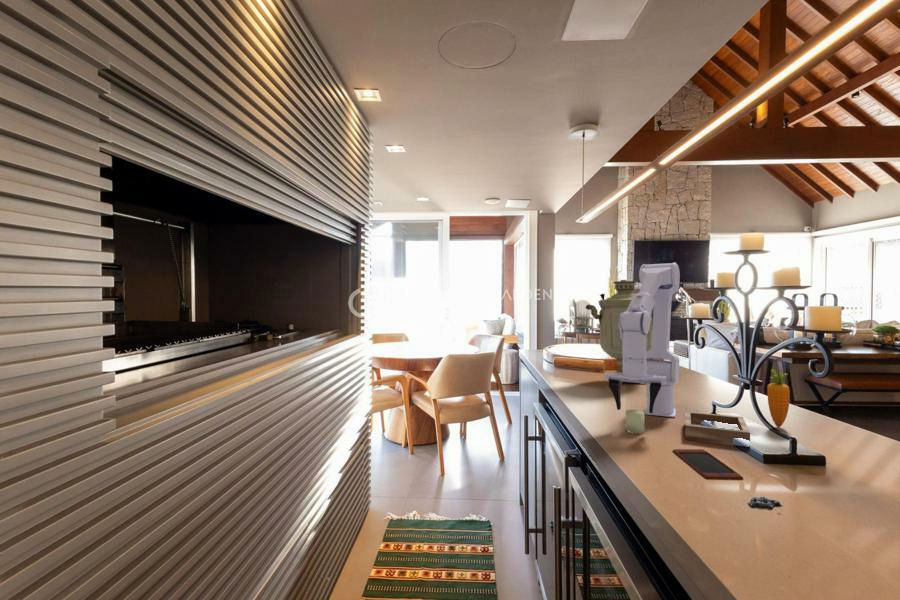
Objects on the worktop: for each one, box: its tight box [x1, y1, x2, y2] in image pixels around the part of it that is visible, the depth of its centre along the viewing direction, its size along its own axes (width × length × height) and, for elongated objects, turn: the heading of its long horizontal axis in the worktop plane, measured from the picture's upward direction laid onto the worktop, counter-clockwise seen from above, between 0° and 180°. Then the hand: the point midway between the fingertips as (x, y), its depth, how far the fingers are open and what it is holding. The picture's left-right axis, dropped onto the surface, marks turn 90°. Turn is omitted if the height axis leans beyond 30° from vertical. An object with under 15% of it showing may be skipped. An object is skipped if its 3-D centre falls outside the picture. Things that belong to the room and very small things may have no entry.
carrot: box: [766, 368, 791, 428], centre depth 115 cm, size 5×5×15 cm
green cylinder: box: [625, 409, 645, 435], centre depth 113 cm, size 4×4×5 cm
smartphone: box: [672, 448, 744, 481], centre depth 91 cm, size 7×1×15 cm
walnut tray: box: [684, 410, 751, 447], centre depth 109 cm, size 14×13×4 cm
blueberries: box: [747, 496, 783, 515], centre depth 73 cm, size 7×8×2 cm
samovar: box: [585, 280, 654, 386], centre depth 172 cm, size 30×26×40 cm
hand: (634, 410), depth 113 cm, fingers open, 7 cm apart
